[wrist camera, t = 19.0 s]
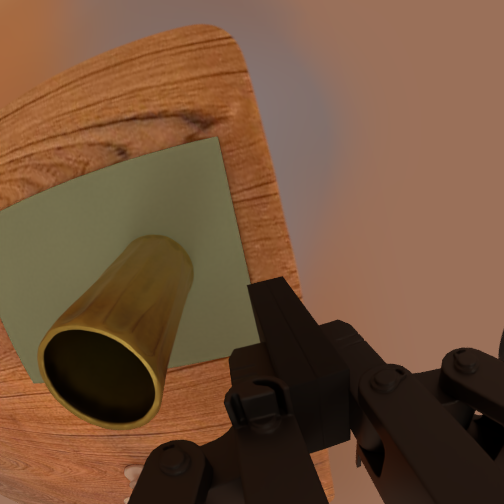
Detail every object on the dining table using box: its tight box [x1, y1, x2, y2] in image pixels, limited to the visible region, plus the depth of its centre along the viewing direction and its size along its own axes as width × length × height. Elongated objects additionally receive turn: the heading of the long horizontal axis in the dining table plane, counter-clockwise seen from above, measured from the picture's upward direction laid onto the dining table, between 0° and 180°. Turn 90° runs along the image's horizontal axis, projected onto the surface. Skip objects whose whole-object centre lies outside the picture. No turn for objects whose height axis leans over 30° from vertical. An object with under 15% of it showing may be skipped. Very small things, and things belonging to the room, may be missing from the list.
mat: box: [0, 137, 260, 383], centre depth 23 cm, size 26×18×1 cm
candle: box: [124, 465, 144, 504], centre depth 24 cm, size 5×5×10 cm
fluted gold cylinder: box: [37, 235, 194, 430], centre depth 16 cm, size 6×6×14 cm
